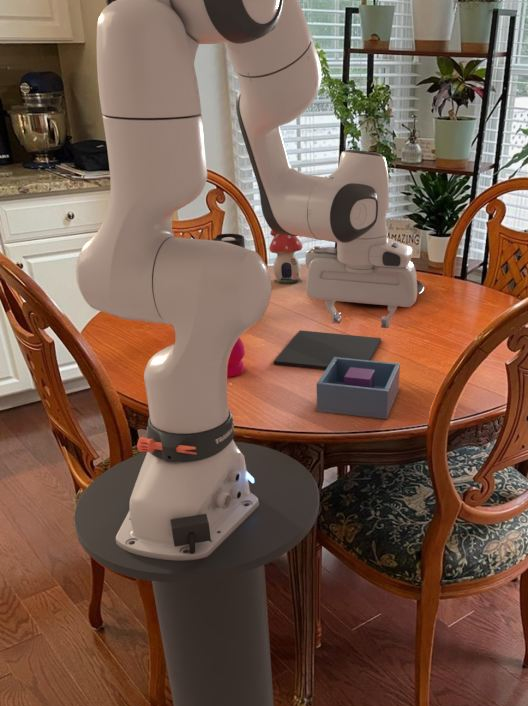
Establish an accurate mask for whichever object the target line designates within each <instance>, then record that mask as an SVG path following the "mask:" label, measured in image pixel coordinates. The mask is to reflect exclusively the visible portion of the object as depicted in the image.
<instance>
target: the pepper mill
mask: <svg viewBox="0 0 528 706" xmlns="http://www.w3.org/2000/svg"><path fill="white" fill-rule="evenodd" d="M245 355H246V350H245V346H244V342H243V340H242V339H241V337H240V338H239V339H238V340H237V342H236V343H235V345H234V347H233V349H232V351H231V354H230V357H229V360H228V367H227V378H231V377H236V376H239V375H242V374H243V373H244V370H245V367H244V362H243V359H244V357H245Z"/></svg>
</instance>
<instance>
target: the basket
mask: <svg viewBox="0 0 528 706" xmlns="http://www.w3.org/2000/svg"><path fill="white" fill-rule="evenodd" d="M350 367H353V368H363V369H373V370H375V377H374V388H369V387H360V386H350V385H344V377H345V375H346V373H347V372H348V370H349V368H350ZM400 373H401V363H400V362H399V363H397V362H387V361H379V360H370V361H369V360H359V359H349V358H340V357H334V358H333V360H332V361H331V363H330V364H329V366H328V367H327V369H326V370H324V372H323V373H322V375H321V376H320V378H319V379H318V380H317V382H316V411H317V412H321V413H329V414H338V415H345V416H346V415H347V416H355V417H363V418H371V419H372V418H373V419H379V420H380V419H382V420H387V419H388V417H389V415H390V412H391V409H392V407H393V404H394V403H395V399H396V398H397V396H398V393H399V391H400Z"/></svg>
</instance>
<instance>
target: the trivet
mask: <svg viewBox="0 0 528 706" xmlns="http://www.w3.org/2000/svg"><path fill="white" fill-rule="evenodd" d="M381 341H382V338H381V337H373V336H365V335H364V336H363V335H353V334H344V333H343V334H342V333H331V332H322V331H311V330H298V332H297V333H296V334H295V335H294V336H293V338H291V340H290V341H289V342H288V344H287V345H286V346H285V347H284V348H283V349H282V351H281V352H280V353H279V354H278V355H277V357H275V359H274V360H273V365H275V366H276V365H277V366H286V367H295V368H296V367H297V368H305V369H316V370H324V371H325V370H326V369H327V367H328V366H329V364H330V363H331V361H332V360H333V358H334V357H340V358H349V359H359V360H369V361H372V358H373V356H374V354H375V352H376V351H377V349H378V347H379V345H380V344H381Z"/></svg>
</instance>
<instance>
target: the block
mask: <svg viewBox="0 0 528 706" xmlns="http://www.w3.org/2000/svg"><path fill="white" fill-rule="evenodd" d="M374 377H375V370H373V369H363V368H353V367H350V368H349V370H348V372H347V373H346V375H345V377H344V385H350V386H360V387H369V388H374Z"/></svg>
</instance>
